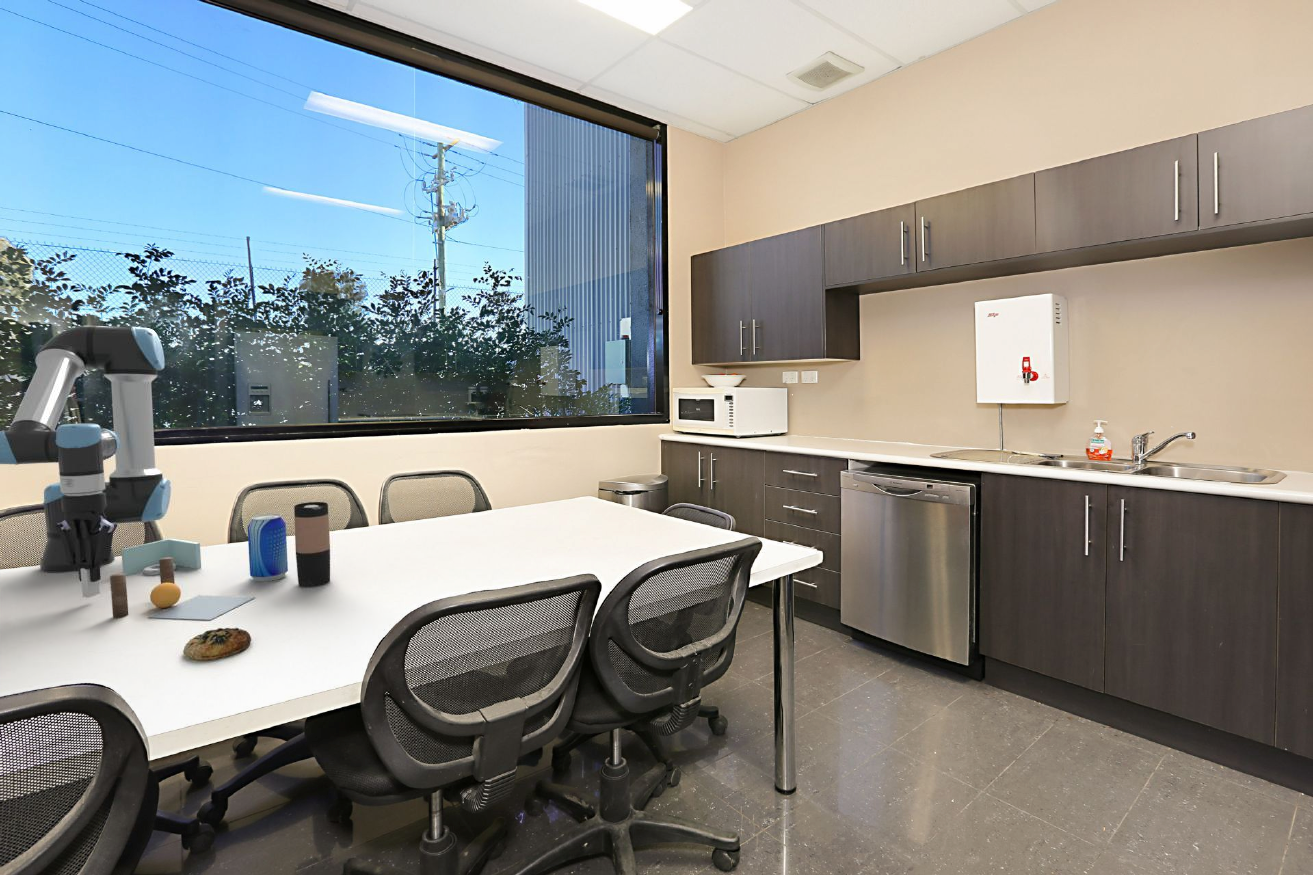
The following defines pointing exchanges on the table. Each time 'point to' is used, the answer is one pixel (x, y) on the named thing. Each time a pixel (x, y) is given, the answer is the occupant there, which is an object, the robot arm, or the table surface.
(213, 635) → the bread roll
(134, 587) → the table surface
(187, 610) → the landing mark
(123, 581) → the post
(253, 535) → the beer can
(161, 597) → the ball
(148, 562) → the l-shaped corner panel
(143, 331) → the robot arm
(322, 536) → the travel mug
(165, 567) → the post
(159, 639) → the table surface
